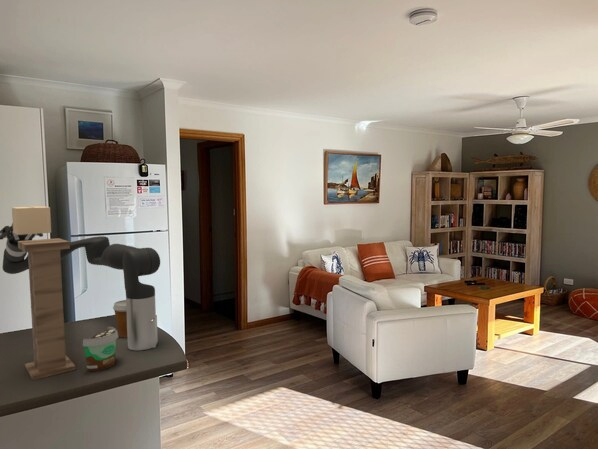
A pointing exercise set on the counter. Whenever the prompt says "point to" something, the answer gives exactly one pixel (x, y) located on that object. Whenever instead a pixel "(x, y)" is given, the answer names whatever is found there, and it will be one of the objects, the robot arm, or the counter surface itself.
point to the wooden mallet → (31, 220)
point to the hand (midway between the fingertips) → (24, 222)
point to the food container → (101, 350)
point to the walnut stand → (46, 307)
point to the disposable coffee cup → (121, 317)
